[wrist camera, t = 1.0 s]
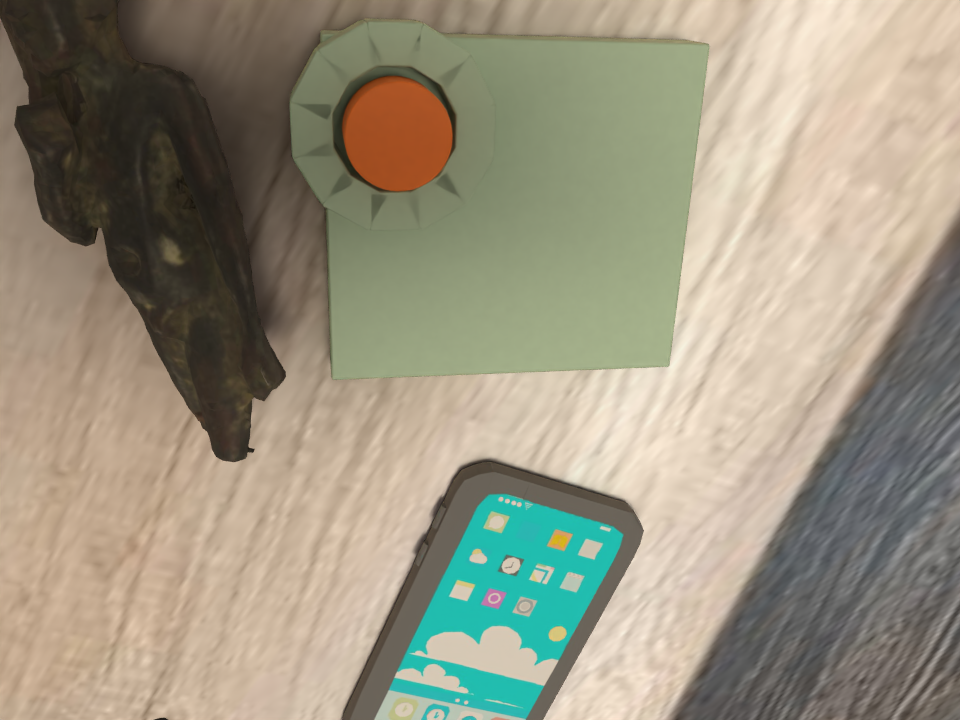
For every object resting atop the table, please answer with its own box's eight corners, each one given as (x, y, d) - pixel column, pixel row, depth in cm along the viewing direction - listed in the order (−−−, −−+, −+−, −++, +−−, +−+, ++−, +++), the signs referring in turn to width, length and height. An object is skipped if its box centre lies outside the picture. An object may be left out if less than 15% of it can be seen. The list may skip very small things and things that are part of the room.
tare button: (343, 180, 27) (345, 191, 25) (340, 74, 26) (342, 80, 24) (444, 180, 27) (451, 191, 26) (446, 76, 26) (454, 82, 25)
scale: (302, 360, 32) (302, 402, 29) (287, 13, 28) (285, 18, 24) (651, 347, 34) (687, 385, 31) (689, 25, 30) (734, 31, 27)
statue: (92, 483, 29) (-193, -242, 21) (217, 406, 33) (15, -225, 26) (227, 514, 26) (-54, -336, 18) (348, 424, 30) (161, -299, 22)
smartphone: (324, 764, 38) (466, 465, 33) (324, 745, 39) (461, 452, 34) (507, 796, 41) (660, 523, 36) (502, 778, 41) (651, 510, 37)
